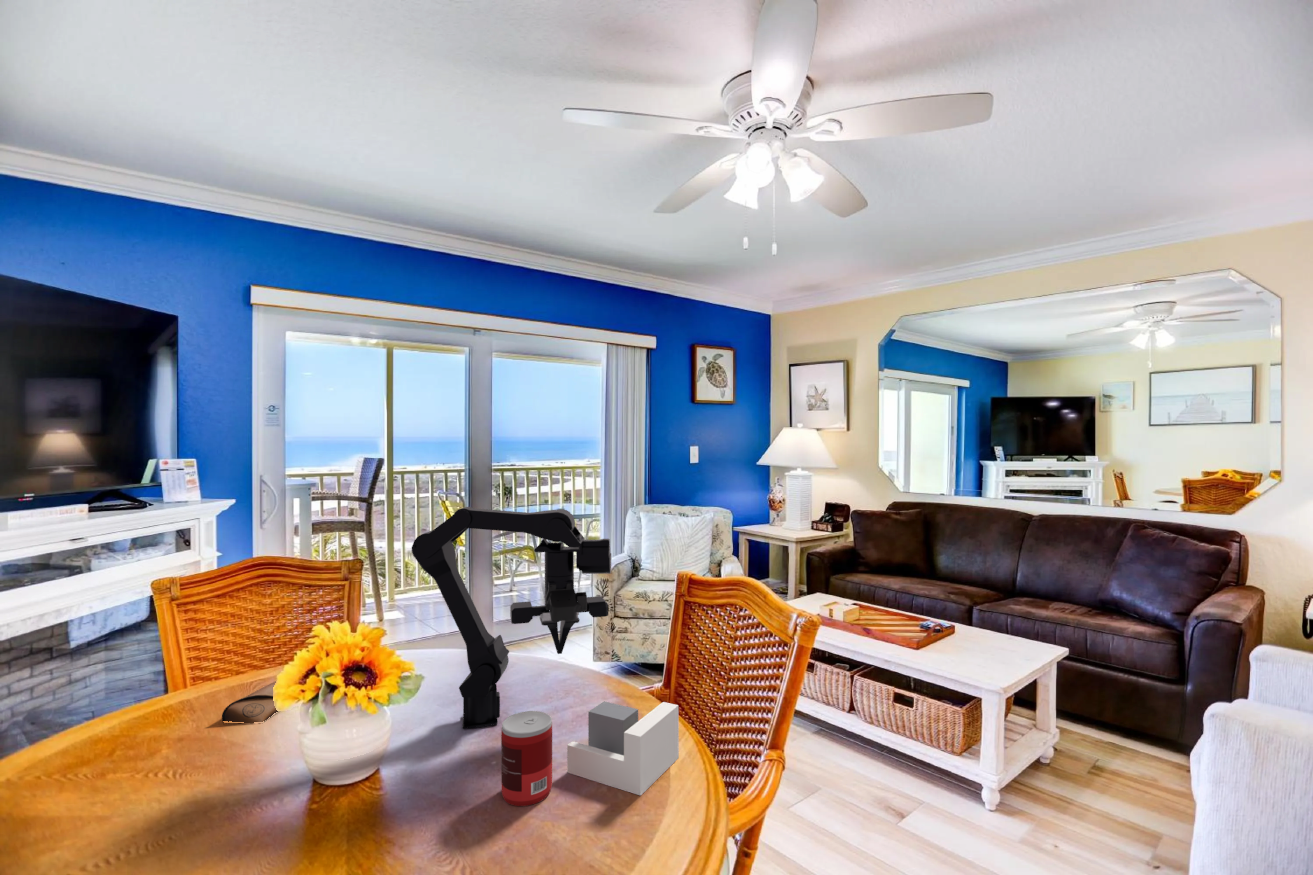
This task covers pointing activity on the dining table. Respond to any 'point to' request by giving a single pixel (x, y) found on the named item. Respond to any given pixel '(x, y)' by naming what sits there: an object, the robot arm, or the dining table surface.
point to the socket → (632, 753)
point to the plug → (610, 726)
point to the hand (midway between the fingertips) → (559, 653)
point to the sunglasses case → (252, 707)
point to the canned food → (526, 758)
